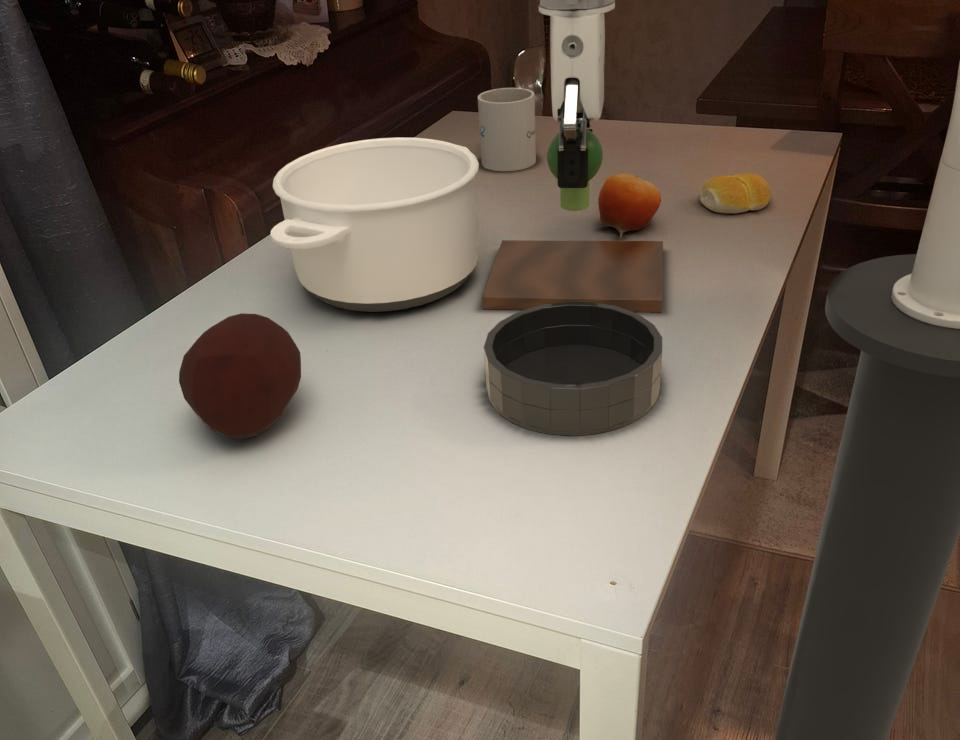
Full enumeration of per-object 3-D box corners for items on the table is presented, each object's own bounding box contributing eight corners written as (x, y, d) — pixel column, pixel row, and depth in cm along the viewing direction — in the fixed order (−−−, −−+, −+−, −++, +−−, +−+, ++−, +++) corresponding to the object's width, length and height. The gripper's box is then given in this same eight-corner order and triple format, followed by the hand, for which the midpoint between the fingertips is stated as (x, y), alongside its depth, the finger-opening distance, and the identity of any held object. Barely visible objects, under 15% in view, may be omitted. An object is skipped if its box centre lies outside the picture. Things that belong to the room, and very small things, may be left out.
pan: (659, 347, 92) (662, 302, 89) (658, 439, 79) (662, 391, 76) (500, 343, 95) (498, 300, 92) (474, 432, 82) (471, 385, 79)
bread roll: (780, 208, 119) (785, 178, 117) (720, 219, 117) (723, 189, 115) (747, 188, 125) (751, 159, 123) (690, 199, 124) (692, 170, 121)
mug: (525, 173, 136) (523, 104, 130) (473, 169, 139) (469, 102, 133) (550, 147, 145) (549, 82, 139) (501, 144, 148) (498, 80, 142)
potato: (317, 381, 91) (298, 287, 85) (303, 457, 80) (280, 356, 74) (209, 389, 91) (182, 296, 85) (180, 466, 80) (147, 366, 74)
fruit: (574, 222, 116) (596, 160, 114) (608, 236, 122) (630, 177, 120) (621, 237, 111) (645, 173, 109) (654, 251, 117) (678, 191, 115)
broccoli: (602, 195, 102) (604, 119, 97) (599, 215, 98) (601, 136, 92) (550, 196, 103) (549, 119, 98) (545, 215, 98) (544, 137, 93)
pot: (391, 363, 93) (373, 238, 84) (226, 321, 103) (195, 205, 94) (538, 244, 115) (535, 135, 106) (390, 219, 125) (377, 117, 116)
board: (662, 252, 110) (663, 240, 109) (661, 312, 98) (662, 300, 97) (502, 251, 114) (501, 240, 113) (482, 309, 101) (481, 297, 100)
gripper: (611, 9, 80) (605, 205, 91) (618, -24, 93) (613, 150, 104) (528, 11, 81) (532, 205, 92) (547, -22, 95) (549, 151, 106)
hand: (575, 174), depth 98 cm, fingers closed on broccoli, 5 cm apart
